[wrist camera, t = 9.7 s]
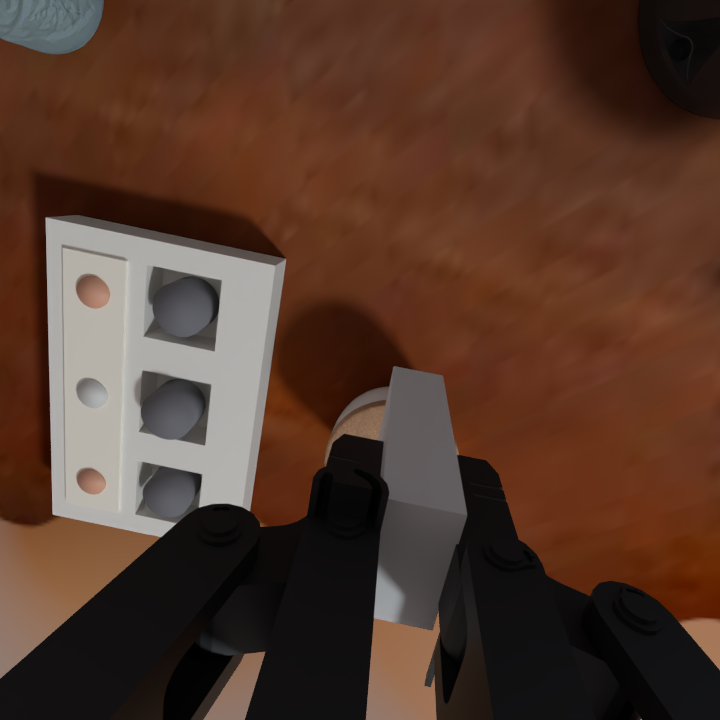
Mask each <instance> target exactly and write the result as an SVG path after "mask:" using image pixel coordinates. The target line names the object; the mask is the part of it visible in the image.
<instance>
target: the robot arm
mask: <svg viewBox="0 0 720 720" xmlns="http://www.w3.org/2000/svg"><path fill="white" fill-rule="evenodd" d="M639 36H640V43H641V49H642V53H643V57H644V60H645V62H646V65H647V67H648V70H649V72H650V74H651V76H652V78H653V79H654V81H655V82H656V84H657V85H658V87H659V88H660V89H661V90H662V92H663V93H664V94H665V95H666V96H667V97H668V98H669V99H671V100H672V101H673V102H674V103H676V104H677V105H679V106H680V107H682V108H684V109H685V110H687V111H689V112H692V113H694V114H697V115H700V116H704V117H707V118H713V119H720V0H640V7H639ZM438 610H439V624H440V633H439V636H438V639H437V642H436V646H435V650H434V652H433V655H432V659H431V662H430V665H429V668H428V672H427V675H426V680H425V686H428V687H431V684H432V680H433V678H434V675H435V692H436V693H435V694H436V715H437V720H640V719H642V720H720V670H719V669H718V668H717V666H716V665H715V664H714V663H713V662H712V661H711V659H710V658H709V657H708V656H707V655H706V654H705V652H704V651H703V650H702V649H701V648H700V647H699V646H698V644H697V643H696V642H695V641H694V640H693V638H692V637H691V636H690V635H689V634H688V633H687V631H686V630H685V629H684V628H683V627H682V625H681V624H680V623H679V622H678V621H677V620H676V618H675V617H674V616H673V615H672V614H671V613H670V612H669V611H668V610H667V609H666V608H665V607H664V606H663V605H662V604H661V603H660V602H659V601H657V600H656V599H654V598H653V597H651V596H650V595H648V594H646V593H645V592H643V591H642V590H640V589H637V588H635V587H632V586H630V585H628V584H625V583H620V582H614V581H608V582H602V583H599V584H598V585H597V586H596V587H595V588H594V589H593V591H592V593H591V596H588V595H586V594H584V593H581V592H579V591H577V590H575V589H572V588H570V587H568V586H566V585H563V584H561V583H559V582H557V581H555V580H553V579H552V578H550V577H548V576H547V575H546V574H545V571H544V568H543V565H542V563H541V561H540V560H539V558H538V556H537V555H536V553H535V552H534V551H533V550H531V549H530V548H529V547H528V546H527V545H526V544H525V543H523V542H521V541H520V540H518V536H517V533H516V530H515V527H514V524H513V520H512V517H511V514H510V511H509V507H508V504H507V502H506V498H505V494H504V491H503V490H502V485H501V481H500V478H499V475H498V473H497V472H496V471H495V470H494V469H493V468H492V467H491V465H490V464H489V463H488V462H487V461H486V460H481V459H476V458H471V457H466V456H461V455H457V453H456V448H455V442H454V436H453V431H452V425H451V419H450V414H449V408H448V402H447V397H446V391H445V385H444V380H443V376H442V375H437V374H432V373H427V372H422V371H416V370H411V369H406V368H401V367H396V366H394V367H393V371H392V376H391V381H390V386H389V390H388V395H387V400H386V405H385V410H384V414H383V419H382V424H381V429H380V433H379V438H378V440H374V439H369V438H364V437H359V436H354V435H349V434H343V435H342V436H340V437H339V438H338V439H337V440H335V441H334V442H333V443H332V447H331V450H330V453H329V457H328V460H327V463H326V467H324V468H322V469H320V470H318V472H317V473H316V474H315V476H314V477H313V483H312V489H311V495H310V501H309V508H308V514H307V516H306V517H304V518H303V519H301V520H299V521H297V522H295V523H291V524H288V525H282V526H271V527H260V522H259V521H258V520H257V518H256V517H255V516H254V514H253V513H251V512H250V511H248V510H246V509H245V508H243V507H240V506H236V505H232V504H210V505H207V506H203V507H199V508H197V509H195V510H194V511H192V512H191V513H189V514H187V515H186V516H185V517H183V518H182V519H181V520H180V521H179V522H178V523H177V524H176V525H174V526H173V527H172V528H171V529H170V530H169V531H168V532H166V533H165V534H164V535H163V536H162V537H161V538H160V539H159V540H157V541H156V542H155V543H154V544H153V545H152V546H151V547H149V548H148V549H147V550H146V551H145V552H144V553H143V554H142V555H140V556H139V557H138V558H137V559H136V560H135V561H134V562H132V563H131V564H130V565H129V566H128V567H127V568H126V569H125V570H124V571H122V572H121V573H120V574H119V575H118V576H117V577H115V578H114V579H113V580H112V581H111V582H110V583H109V584H107V585H106V586H105V587H104V588H103V589H102V590H101V591H100V592H98V593H97V594H96V595H95V596H94V597H93V598H92V599H90V600H89V601H88V602H87V603H86V604H85V605H84V606H82V607H81V608H80V609H79V610H78V611H77V612H76V613H75V614H73V616H71V617H70V618H69V619H68V620H67V621H65V622H64V623H63V624H62V625H61V626H60V627H59V628H58V629H56V630H55V631H54V632H53V633H52V634H51V635H50V636H48V637H47V638H46V639H45V640H44V641H43V642H42V643H41V644H40V645H38V646H37V647H36V648H35V649H34V650H33V651H31V652H30V653H29V654H28V655H27V656H26V657H25V658H24V659H22V660H21V661H20V662H19V663H18V664H17V665H15V666H14V667H13V668H12V669H11V670H10V671H9V672H8V673H6V674H5V675H4V676H3V677H2V678H1V679H0V720H203V719H204V718H205V716H206V714H207V713H208V711H209V710H210V708H211V706H212V705H213V704H214V702H215V701H216V699H217V697H218V696H219V694H220V693H221V691H222V690H223V688H224V687H225V685H226V683H227V682H228V681H229V679H230V677H231V676H232V674H233V673H234V671H235V670H236V668H237V667H238V665H239V664H240V662H241V660H242V658H243V655H244V654H247V653H256V652H265V651H266V652H265V656H264V659H263V662H262V666H261V669H260V672H259V675H258V679H257V682H256V685H255V688H254V692H253V695H252V698H251V701H250V705H249V708H248V712H247V715H246V718H245V720H366V709H367V695H368V684H369V670H370V658H371V646H372V634H373V621H374V618H376V619H381V620H385V621H390V622H395V623H400V624H405V625H409V626H414V627H419V628H423V629H428V630H433V627H434V624H435V620H436V617H437V614H438Z"/></svg>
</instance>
